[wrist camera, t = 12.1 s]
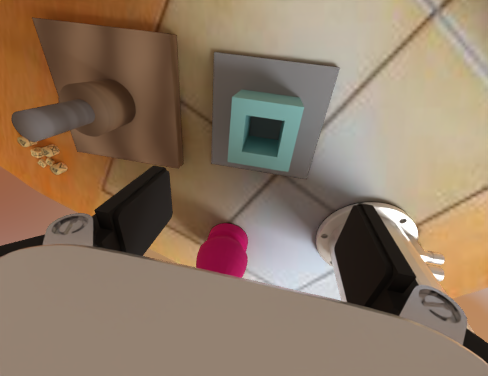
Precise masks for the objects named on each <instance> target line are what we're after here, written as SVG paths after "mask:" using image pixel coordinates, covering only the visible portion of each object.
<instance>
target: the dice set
mask: <svg viewBox="0 0 488 376" xmlns="http://www.w3.org/2000/svg"><path fill="white" fill-rule="evenodd" d="M18 142H19V144H20V145H21V146H23V147H28V146H31V145H34V144H37V142H33V141H30V140H28V139H26V138H24V137H23V136H22V137H18ZM59 151H60V150H59V149H58V147H57V146H55V145H54V144H52V145H48V146H46V147H37V148H34V149H31V155H32V156H34V157H36V158H40V157H43V156H46V157H48V158H47V159H46V161H44V160H43V159H40V160H39V162H38V164H39V165H40V166H42V167H43V168H44V167H46V166H47V164H48V165H50V166H51V167H50V169H51V171H52V172H53V173H54V174H56V175H59V174H61V173H63V172H65V171H67V169H68V168H67V166H66V164H64V163H63V162H58V163H56V164H55V161H54V160H52V159H51V158H50V157H52V156H54V155H56V154H59Z"/></svg>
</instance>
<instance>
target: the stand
mask: <svg viewBox="0 0 488 376" xmlns="http://www.w3.org/2000/svg"><path fill="white" fill-rule="evenodd" d="M32 19H33V22H34V25H35V28H36V31H37V34H38V37H39V40H40V43H41V46H42V48H43V51H44V54H45V57H46V60H47V63H48V66H49V69H50V72H51V75H52V78H53V81H54V84H55V87H56V90H57V93H58V96H59V103H57V104H52V105H47V106H42V107H37V108H32V109H28V110H23V111H18V112H14V113H13V114H12V123H13V125H14V127H15V129H16V130H17V131H18V132H19V133H20V134H21V135H22V136H23V137H24V138H26V139H28V140H30V141H33V142H37V141H40V140H43V139H46V138H49V137H52V136H55V135H58V134H61V133H63V132H66V131H69V130H70V131H71V134H72V137H73V140H74V143H75V146H76V149H77V152H83V153H89V154H95V155H101V156H107V157H113V158H119V159H125V160H131V161H137V162H143V163H149V164H155V165H161V166H166V167H172V168H178V169H179V168H180V167H181V166H182V165H183V146H182V128H181V109H180V91H179V72H178V54H177V35H173V34H166V33H158V32H150V31H141V30H133V29H124V28H116V27H108V26H99V25H91V24H83V23H74V22H66V21H57V20H49V19H41V18H32Z"/></svg>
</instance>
